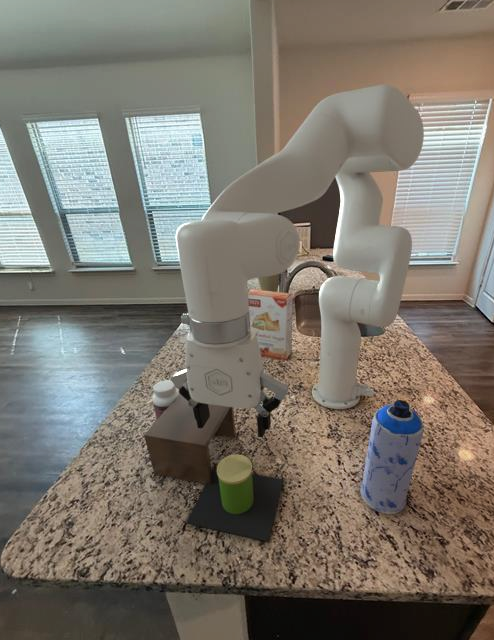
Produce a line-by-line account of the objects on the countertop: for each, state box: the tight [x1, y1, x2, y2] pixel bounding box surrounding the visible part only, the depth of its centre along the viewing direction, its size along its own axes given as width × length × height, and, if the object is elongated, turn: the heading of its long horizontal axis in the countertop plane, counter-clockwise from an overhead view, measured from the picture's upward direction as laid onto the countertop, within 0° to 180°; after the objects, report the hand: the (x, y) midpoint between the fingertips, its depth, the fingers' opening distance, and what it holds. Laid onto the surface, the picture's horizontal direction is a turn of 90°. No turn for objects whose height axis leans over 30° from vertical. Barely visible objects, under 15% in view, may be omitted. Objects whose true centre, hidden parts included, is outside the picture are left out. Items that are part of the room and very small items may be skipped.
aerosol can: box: [359, 399, 425, 515], centre depth 51 cm, size 8×8×20 cm
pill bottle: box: [151, 379, 180, 420], centre depth 71 cm, size 6×6×11 cm
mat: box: [185, 466, 284, 543], centre depth 55 cm, size 14×12×1 cm
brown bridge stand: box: [143, 394, 237, 485], centre depth 63 cm, size 12×14×10 cm
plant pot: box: [256, 274, 280, 292], centre depth 163 cm, size 15×15×16 cm
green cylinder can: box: [216, 453, 254, 514], centre depth 53 cm, size 6×6×8 cm
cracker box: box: [248, 288, 293, 361], centre depth 101 cm, size 14×6×21 cm, turn 68°
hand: (233, 426), depth 48 cm, fingers open, 9 cm apart
